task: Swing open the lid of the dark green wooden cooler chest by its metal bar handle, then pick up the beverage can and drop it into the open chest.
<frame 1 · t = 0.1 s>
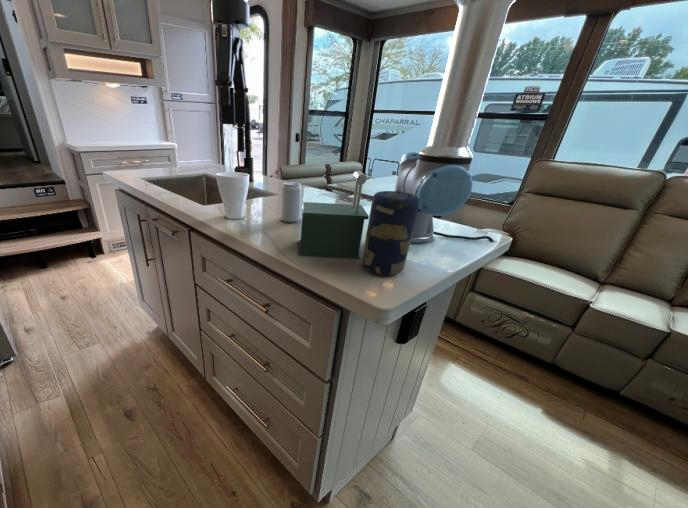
hand: (234, 124, 73), 28 cm above the countertop, tool pointing down, fingers open, 13 cm apart
chest: (327, 248, 84), on the countertop
canister: (381, 270, 74), on the countertop
beverage can: (290, 221, 106), on the countertop
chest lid: (335, 192, 77), point 15 cm above the countertop, hinge at 0.0°
cup: (234, 217, 107), on the countertop
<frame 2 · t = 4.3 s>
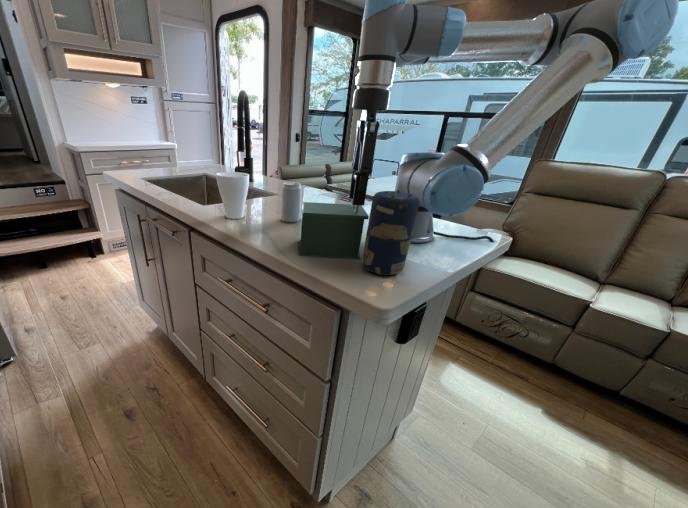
hand: (356, 201, 77), 13 cm above the countertop, tool pointing down, fingers closed on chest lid, 6 cm apart
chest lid: (335, 192, 77), point 15 cm above the countertop, hinge at 0.0°, touching gripper
everything else where it was.
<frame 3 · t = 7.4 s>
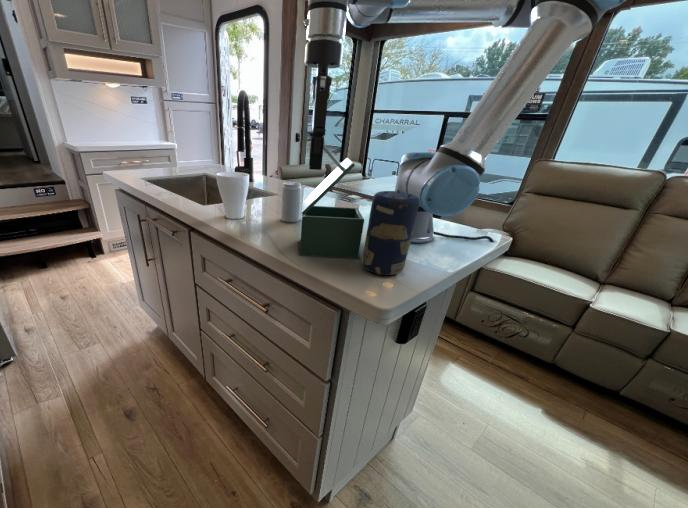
hand: (314, 167, 74), 20 cm above the countertop, tool pointing down, fingers closed on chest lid, 6 cm apart
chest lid: (313, 172, 74), point 19 cm above the countertop, hinge at 47.7°, touching gripper
everything else where it was.
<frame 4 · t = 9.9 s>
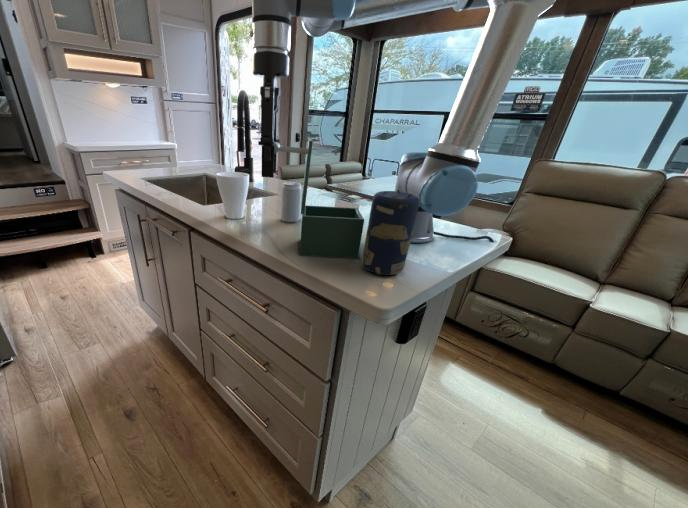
hand: (269, 174, 75), 18 cm above the countertop, tool pointing down, fingers closed on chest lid, 6 cm apart
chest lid: (288, 173, 75), point 18 cm above the countertop, hinge at 87.0°, touching gripper
everything else where it was.
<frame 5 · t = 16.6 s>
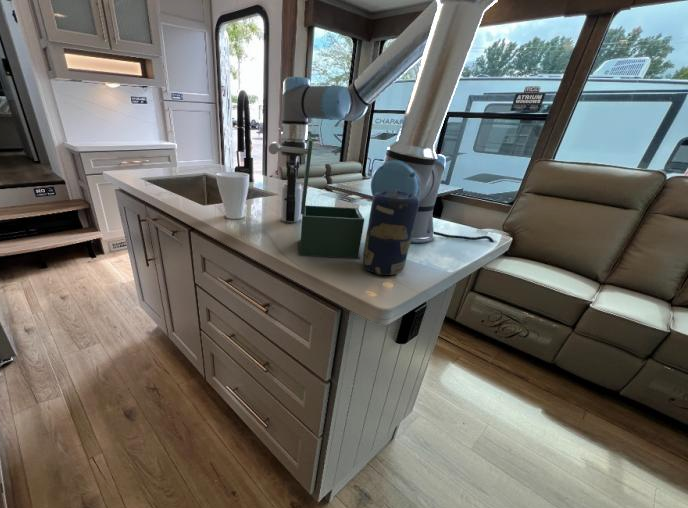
hand: (290, 217, 105), 1 cm above the countertop, tool pointing down, fingers closed on beverage can, 6 cm apart
beverage can: (290, 221, 106), on the countertop, touching gripper
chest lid: (288, 173, 75), point 18 cm above the countertop, hinge at 87.0°
everything else where it was.
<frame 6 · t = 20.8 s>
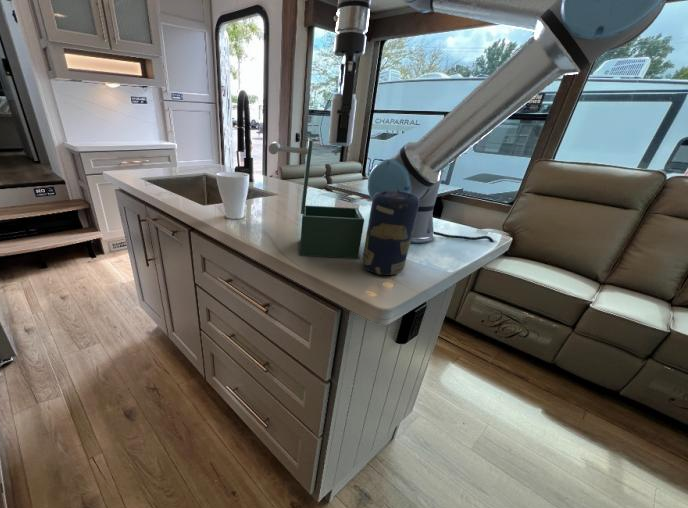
hand: (340, 141, 87), 25 cm above the countertop, tool pointing down, fingers closed on beverage can, 6 cm apart
beverage can: (339, 146, 87), point 24 cm above the countertop, touching gripper
everything else where it was.
when the fingers open (17 cm above the countertop, at t = 25.1 s): beverage can drops 15 cm, resting on chest.
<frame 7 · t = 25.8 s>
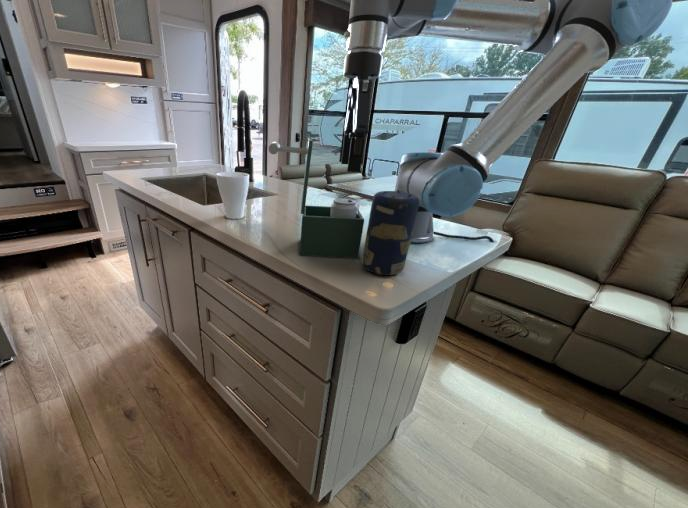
hand: (349, 167, 74), 20 cm above the countertop, tool pointing down, fingers open, 13 cm apart
beverage can: (339, 247, 83), point 1 cm above the countertop, touching chest
everything else where it was.
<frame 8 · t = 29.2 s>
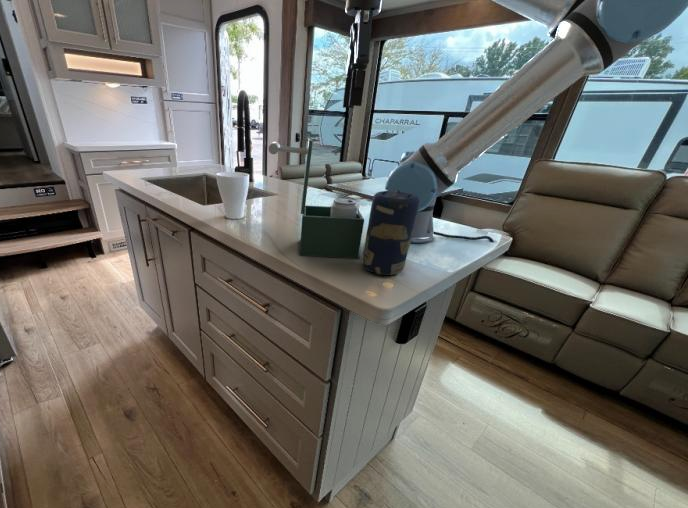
hand: (351, 107, 77), 33 cm above the countertop, tool pointing down, fingers open, 13 cm apart
nothing on the countertop moved.
at the end: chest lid at +87° (first picture: +0°); beverage can inside the target area in the chest (3.0 cm from its centre), point 0.6 cm above the chest's base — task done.
